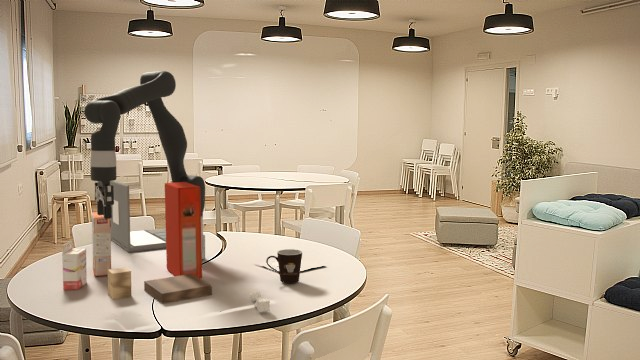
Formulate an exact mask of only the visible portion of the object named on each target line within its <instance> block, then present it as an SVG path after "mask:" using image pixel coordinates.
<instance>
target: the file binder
mask: <svg viewBox="0 0 640 360" xmlns="http://www.w3.org/2000/svg"><path fill="white" fill-rule="evenodd" d="M164 209H165V210H164V213H165V217H164V218H165V230H166V248H165V249H166V269H167V270H168V272H170V274H172V275H173V277H174V276H181V275H187V274H193V275H194V276H196V277H198V278H200V279H202V278H203V267H202V266H203V263H202V260H203V259H202V250H201V199H200V187H199V186H196V185H193V184H190V183H187V182H176V183H172V182H164Z"/></svg>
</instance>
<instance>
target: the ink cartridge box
mask: <svg viewBox="0 0 640 360" xmlns="http://www.w3.org/2000/svg"><path fill="white" fill-rule="evenodd" d="M61 253H62V257H61V258H62V259H61V260H62V284H63V285H62V288H63V290H65V291H67V290H76V291H77V290H79V289H81V287H83V286H84V285H85V284H87V282H88V281H87V277H88V276H87V275H88V274H87V248H73V240H72V239H71V240H69V241H67V242H66V243H64V244H63V245H62V252H61Z"/></svg>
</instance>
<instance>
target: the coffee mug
mask: <svg viewBox="0 0 640 360" xmlns="http://www.w3.org/2000/svg"><path fill="white" fill-rule="evenodd" d="M276 253H277V256H276V255H269V256H268V257H267V258H266V261H265V262H266V263H267V265H268V266H269V267H270V268H271V269H273V270H274V271H273V272H275V271H276V273H278V275H279V279H280V282H281V283H282V284H283V283H284V284H295V283H299V281H300V274H301V272H300V268H301V260H302V259H303V251H302V250H300V249H293V248H292V249H291V248H289V249H288V248H287V249H279V250H277V252H276ZM271 258H274V260H277V262H278V264H279V271H277V270H276V269H274V268H273V267H271V266H270V265H269V264H268V262H269V259H271Z"/></svg>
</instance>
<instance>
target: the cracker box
mask: <svg viewBox="0 0 640 360" xmlns="http://www.w3.org/2000/svg"><path fill="white" fill-rule="evenodd" d="M91 229H92V230H91V232H92V233H91V239H92V240H91V241H92V243H91V244H92V269H93V274H94V277H104V276H108V270H109V269H112V240H111V218H110V219H105V218H104V215H98V214H97V211H92V212H91Z"/></svg>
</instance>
